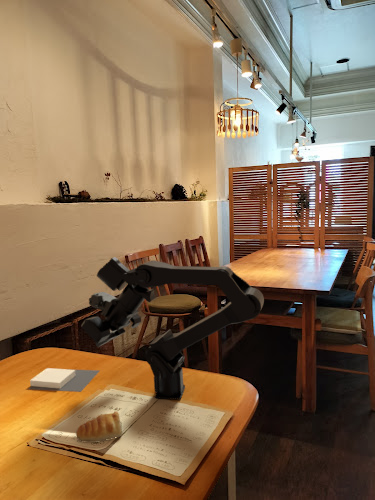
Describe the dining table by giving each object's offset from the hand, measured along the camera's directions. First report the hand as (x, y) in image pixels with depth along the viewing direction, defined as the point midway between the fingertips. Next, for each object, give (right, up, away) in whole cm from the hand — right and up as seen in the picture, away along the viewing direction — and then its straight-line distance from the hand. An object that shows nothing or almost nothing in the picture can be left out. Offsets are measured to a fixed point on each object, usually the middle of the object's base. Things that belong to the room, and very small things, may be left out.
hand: (97, 345), depth 98 cm
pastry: (+6, -14, -20) cm, 25 cm away
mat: (-10, -11, +4) cm, 15 cm away
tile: (-9, -10, +3) cm, 13 cm away
